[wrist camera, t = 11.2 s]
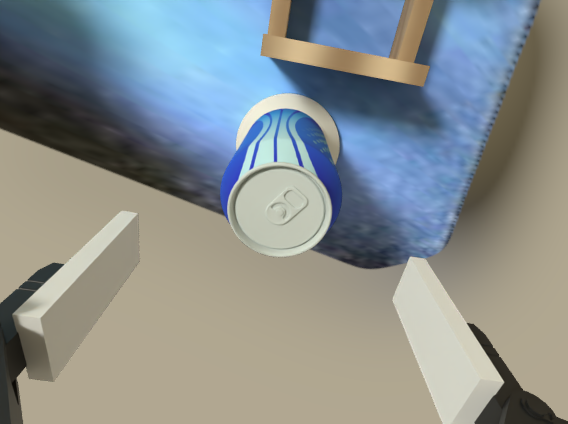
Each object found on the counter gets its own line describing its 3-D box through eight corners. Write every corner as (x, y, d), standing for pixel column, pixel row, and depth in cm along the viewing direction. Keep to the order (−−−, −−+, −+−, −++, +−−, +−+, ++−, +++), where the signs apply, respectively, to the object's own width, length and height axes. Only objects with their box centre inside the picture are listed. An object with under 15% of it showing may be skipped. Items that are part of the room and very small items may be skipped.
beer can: (327, 181, 36) (348, 265, 22) (252, 187, 37) (225, 272, 23) (323, 102, 33) (346, 141, 18) (240, 110, 33) (199, 154, 19)
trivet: (232, 184, 38) (231, 186, 37) (243, 83, 33) (242, 84, 32) (325, 201, 38) (326, 203, 38) (350, 104, 33) (351, 104, 33)
